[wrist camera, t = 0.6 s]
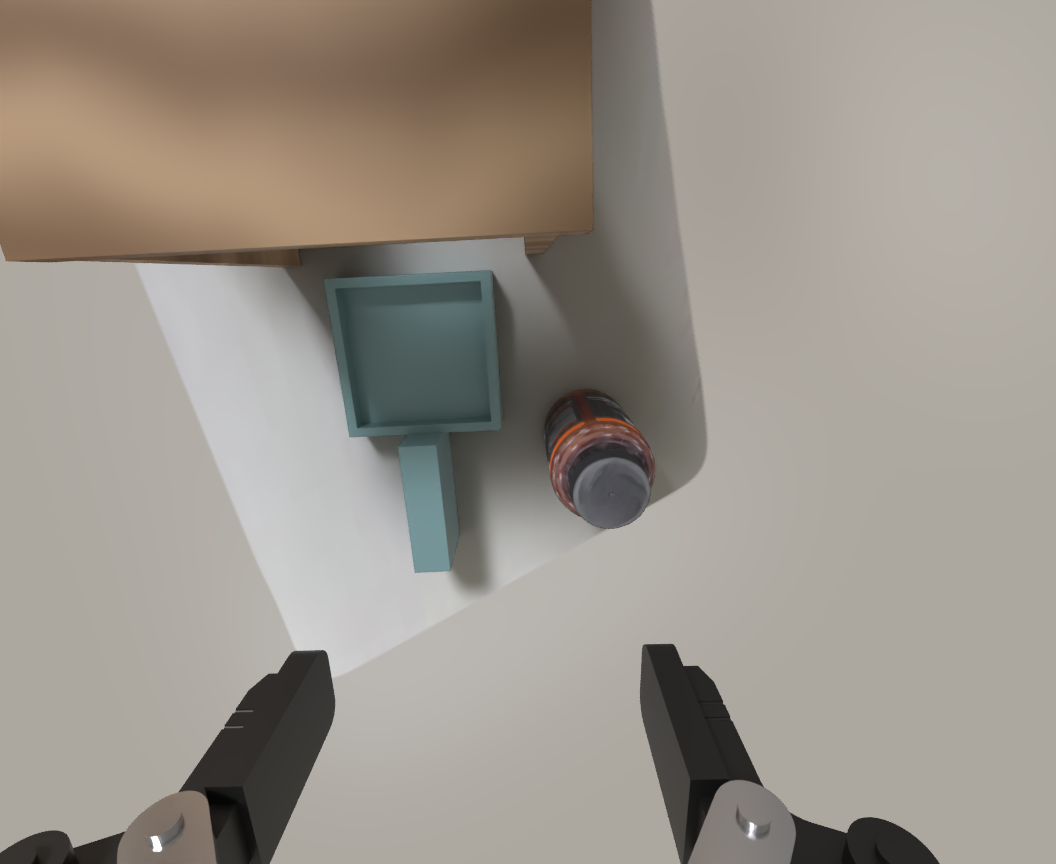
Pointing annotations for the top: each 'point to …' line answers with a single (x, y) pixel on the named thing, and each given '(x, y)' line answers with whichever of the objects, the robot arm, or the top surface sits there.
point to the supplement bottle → (598, 459)
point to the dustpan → (419, 383)
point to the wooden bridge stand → (289, 126)
